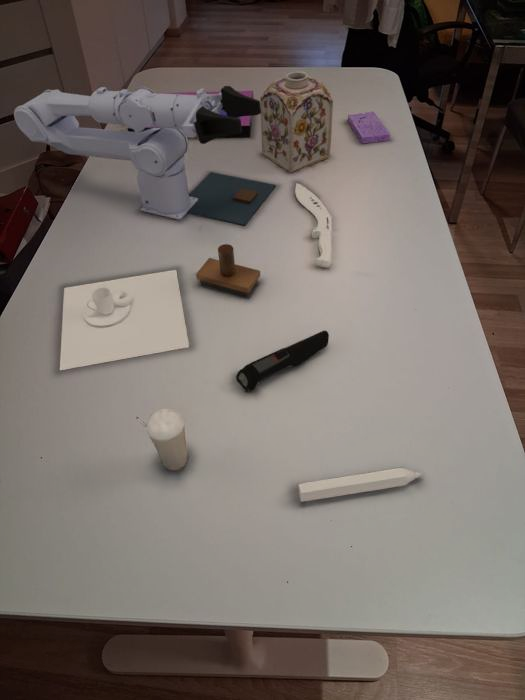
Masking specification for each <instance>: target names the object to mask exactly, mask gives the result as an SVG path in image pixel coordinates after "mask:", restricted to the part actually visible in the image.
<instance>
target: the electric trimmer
mask: <svg viewBox="0 0 525 700" xmlns="http://www.w3.org/2000/svg"><path fill="white" fill-rule="evenodd" d="M329 336H330V335H329V331H327V330H321V331H319V332H317V333H315V334H313V335H310V336H309V337H307V338H304V339H302V340H300V341H298V342H295V343H293V344H291V345H289V346H286V347H283V348H280V349H278V350H276V351H274V352H271V353H270V354H267V355H265V356H263V357H261V358H258V359H256V360H254V361H251V362H250V363H247V364H246V365H245V366H243V368H241V369H240V370H238V371H237V373H236V375H235V379H236V382H237V383H238V384H239V386H240V387H241V388H242V390H243V391H244V392H248V391H249V392H252V391H254V390H255V389H256V387H257V386H258V384H259V383H261V382H262V381H264V380H267V379H268V378H270V377H272V376H274V375H276V374H278V373H279V372H281V371H283V370H285V369H287V368H289V367H299V366H300V365H302V364H304V363H305V362H306V361H308V360H310V359H311V358H312V357H313V356H315V355H316V354H317V353H319V352H321V351H322V350H323V349H325V348H327V346H328V344H329Z"/></svg>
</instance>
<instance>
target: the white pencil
mask: <svg viewBox="0 0 525 700" xmlns="http://www.w3.org/2000/svg"><path fill="white" fill-rule="evenodd" d="M424 475H425V473H423V472H417V471H412V470H410V469H407V468H404V467H397V468H396V467H395V468H390V469H389V468H388V469H383V470H377V471H372V472H366V473H365V472H364V473H359V474H358V473H357V474H353V475H352V474H351V475H346V476H339V477H333V478H326V479H319V480H314V481H308V482H307V481H306V482H301V483H297V490H298V491H297V492H298V497H299V501H300V502H301V503H302V502H309V501H315V500H321V499H328V498H334V497H335V498H336V497H340V496H346V495H354V494H358V493H364V492H365V493H366V492H372V491H378V490H385V489H390V488H396V487H402V486H407V485H408V484H409V483H411V482H413V481H414V480H416V479H418V478H420V477H422V476H424Z"/></svg>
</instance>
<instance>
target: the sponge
mask: <svg viewBox="0 0 525 700" xmlns="http://www.w3.org/2000/svg"><path fill="white" fill-rule="evenodd" d="M347 123H348V124H349V126H350V127H351V129H352V131H353V132H354V134H355V135H356V137H357V138H358V140H359V142H360V143H361V144H372V143H377V142H378V143H379V142H386V141H387V142H388V141H389V140H390V136H391V134H390V132H389V130H387V128H386V127H385V126H384V124H383V122H382V121H381V119H380V118H379V116H378V115H377V113H376V112H375V111H368V112H364V113H363V112H361V113H351V114H347Z"/></svg>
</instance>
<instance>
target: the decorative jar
mask: <svg viewBox="0 0 525 700" xmlns="http://www.w3.org/2000/svg"><path fill="white" fill-rule="evenodd" d="M259 101H260V107H261V113H260V133H261V134H260V136H261V137H260V138H261V151H262V152H261V154H262V155H263V156H265V157H266V158H268V159H269V160H271V161H272V162H274V163H275V164H276V165H278V166H280V167H281V168H283V169H285V170H286V171H287V172H289V173H293V172H296V171H298V170H301V169H303V168H306V167H308V166H311V165H313V164H317V163H319V162H322V161H323V160H326V159H329V158H330V156H331V146H332V131H333V129H332V128H333V108H334V100H333V98H332V96H331V93H330V92H329V90H328V89H327V88H326V85H325V84H324V82H322V81H320V80H318V79H316V78H314V77H312V76H309V75H308V73H307V72H304V71H292V72H288V73H287V74H286V75H285V77H280V78H277V79H275V80H273V81H272V82H271V83H270V85H269V86H267V88H266V89H265V90H264V92H263V93H262V94H261V96H260V98H259Z"/></svg>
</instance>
